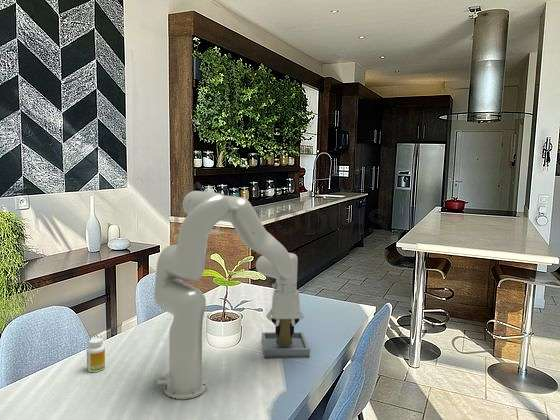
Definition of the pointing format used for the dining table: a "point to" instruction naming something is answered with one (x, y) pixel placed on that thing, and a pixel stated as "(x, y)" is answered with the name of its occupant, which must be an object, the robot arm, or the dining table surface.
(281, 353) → the tray
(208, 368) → the dining table surface
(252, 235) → the robot arm
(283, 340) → the cork
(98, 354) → the supplement bottle
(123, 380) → the dining table surface
